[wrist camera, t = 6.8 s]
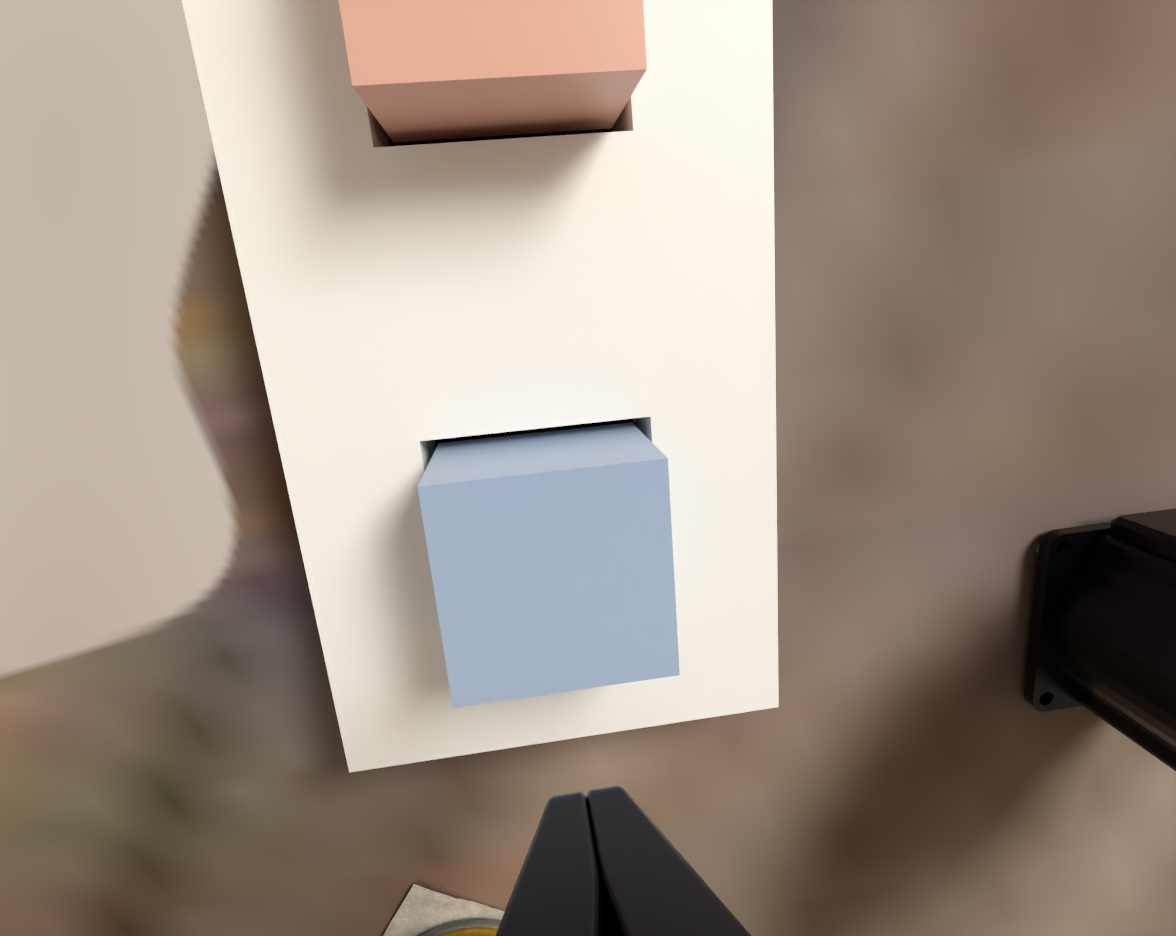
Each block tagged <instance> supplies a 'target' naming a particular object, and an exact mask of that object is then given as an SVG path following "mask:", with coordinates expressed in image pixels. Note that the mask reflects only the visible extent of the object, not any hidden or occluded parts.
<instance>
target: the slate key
mask: <svg viewBox="0 0 1176 936" xmlns="http://www.w3.org/2000/svg"><path fill="white" fill-rule="evenodd" d="M417 488H418V494H419V500H420V507H421V513H422V519H423V525H424V531H425V538H426V544H427V550H428V556H429V562H430V568H431V575H432V581H433V587H434V593H435V599H436V606H437V612H438V618H439V624H440V630H441V636H442V643H443V649H444V655H445V661H446V667H447V674H448V680H449V686H450V692H451V698H452V704H453V708H457V707H464V706H471V705H478V704H485V703H492V702H498V701H505V700H512V699H519V698H526V697H533V696H540V695H547V694H553V693H560V692H567V691H574V690H581V689H588V688H595V687H601V686H608V685H615V684H622V683H629V682H636V681H643V680H650V679H656V678H663V677H670V676H677V675H680V672H679V653H678V635H677V617H676V598H675V580H674V561H673V543H672V525H671V506H670V488H669V470H668V458H667V457H666V456H665V455H664V454H663V453H662V452H661V451H660V450H659V449H658V448H657V447H656V446H655V445H654V444H653V443H652V442H651V441H650V440H649V439H648V438H647V437H646V436H645V435H644V434H643V433H642V432H641V431H640V430H639V429H638V428H637V427H636V426H635V425H634V424H633V423H632V422H629V423H620V424H610V425H601V426H592V427H583V428H573V429H564V430H555V431H546V432H536V433H527V434H518V435H508V436H499V437H490V438H481V439H471V440H462V441H453V442H443V443H439V444H438V446H437V448H436V450H435V452H434V454H433V456H432V458H431V460H430V462H429V464H428V466H427V468H426V470H425V472H424V474H423V476H422V478H421V480H420V482H419V484H418V486H417Z"/></svg>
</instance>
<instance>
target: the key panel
mask: <svg viewBox="0 0 1176 936" xmlns="http://www.w3.org/2000/svg"><path fill="white" fill-rule="evenodd" d="M182 5H183V10H184V14H185V19H186V23H187V28H188V33H189V37H190V42H191V46H192V51H193V56H194V60H195V65H196V69H197V74H198V79H199V83H200V88H201V92H202V97H203V102H204V106H205V111H206V115H207V120H208V125H209V129H210V134H211V138H212V143H213V148H214V152H215V157H216V162H217V166H218V171H219V175H220V180H221V185H222V189H223V194H224V198H225V203H226V208H227V212H228V217H229V221H230V226H231V231H232V235H233V240H234V244H235V249H236V254H237V258H238V263H239V267H240V272H241V277H242V281H243V286H244V290H245V295H246V300H247V304H248V309H249V313H250V318H251V323H252V327H253V332H254V336H255V341H256V346H257V350H258V355H259V359H260V364H261V369H262V373H263V378H264V382H265V387H266V392H267V396H268V401H269V406H270V410H271V415H272V419H273V424H274V429H275V433H276V438H277V442H278V447H279V452H280V456H281V461H282V465H283V470H284V475H285V479H286V484H287V488H288V493H289V498H290V502H291V507H292V511H293V516H294V521H295V525H296V530H297V534H298V539H299V544H300V548H301V553H302V557H303V562H304V567H305V571H306V576H307V580H308V585H309V590H310V594H311V599H312V603H313V608H314V613H315V617H316V622H317V627H318V631H319V636H320V640H321V645H322V650H323V654H324V659H325V663H326V668H327V673H328V677H329V682H330V686H331V691H332V696H333V700H334V705H335V709H336V714H337V719H338V723H339V728H340V732H341V737H342V742H343V746H344V751H345V755H346V760H347V765H348V769H349V773H350V772H356V771H363V770H369V769H376V768H382V767H389V766H395V765H402V764H409V763H415V762H422V761H428V760H435V759H441V758H448V757H454V756H461V755H468V754H474V753H481V752H487V751H494V750H500V749H507V748H513V747H520V746H527V745H533V744H540V743H546V742H553V741H559V740H566V739H572V738H579V737H585V736H592V735H599V734H605V733H612V732H618V731H625V730H631V729H638V728H644V727H651V726H658V725H664V724H671V723H677V722H684V721H690V720H697V719H703V718H710V717H717V716H723V715H730V714H736V713H743V712H749V711H756V710H762V709H769V708H776V707H779V703H778V590H777V476H776V362H775V249H774V135H773V22H772V0H643V8H644V26H645V45H646V63H647V70H646V71H645V73H644V75H643V77H642V78H641V80H640V82H639V83H638V85H637V87H636V88H635V90H634V92H633V93H632V95H631V97H630V98H629V100H628V102H627V103H626V105H625V107H624V108H623V110H622V112H621V113H620V115H619V117H618V118H617V120H616V122H615V124H614V125H613V131H614V132H604V133H588V134H573V135H558V136H542V137H527V138H512V139H496V140H481V141H466V142H450V143H435V144H420V145H404V146H390V143H389V137H388V134H387V133H386V131H385V130H384V129H383V127H382V126H381V124H380V123H379V122H378V120H377V119H376V118H375V116H374V115H373V113H372V112H371V111H370V109H369V108H368V107H367V105H366V104H365V103H364V101H363V100H362V98H361V97H360V96H359V94H358V93H357V92H356V90H355V89H354V87H353V86H352V81H351V75H350V68H349V62H348V56H347V50H346V44H345V38H344V31H343V25H342V19H341V13H340V7H339V0H182ZM624 419H633V424H634V425H635V426H636V427H637V428H638V429H639V430H640V431H641V432H642V433H643V434H644V435H645V436H646V437H647V438H648V439H649V440H650V441H651V442H652V443H653V444H654V445H655V446H656V447H657V448H658V449H659V450H660V451H661V452H662V453H663V454H664V455H665V456H666V457H667V458H668V470H669V488H670V506H671V525H672V543H673V561H674V580H675V598H676V617H677V635H678V653H679V672H680V675H677V676H670V677H663V678H656V679H650V680H643V681H636V682H629V683H622V684H615V685H608V686H601V687H595V688H588V689H581V690H574V691H567V692H560V693H553V694H547V695H540V696H533V697H526V698H519V699H512V700H505V701H498V702H492V703H485V704H478V705H471V706H464V707H457V708H453V704H452V698H451V692H450V686H449V680H448V674H447V667H446V661H445V655H444V649H443V643H442V636H441V630H440V624H439V618H438V612H437V606H436V599H435V593H434V587H433V581H432V575H431V568H430V562H429V556H428V550H427V544H426V538H425V531H424V525H423V519H422V513H421V507H420V500H419V494H418V488H417V486H418V484H419V482H420V480H421V478H422V476H423V474H424V472H425V470H426V468H427V466H428V464H429V462H430V460H431V458H432V456H433V454H434V452H435V450H436V447H435V440H437V439H447V438H456V437H465V436H475V435H484V434H493V433H503V432H512V431H521V430H531V429H540V428H549V427H559V426H568V425H577V424H587V423H596V422H605V421H615V420H624Z"/></svg>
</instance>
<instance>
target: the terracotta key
mask: <svg viewBox="0 0 1176 936" xmlns="http://www.w3.org/2000/svg"><path fill="white" fill-rule="evenodd" d="M339 7H340V13H341V19H342V25H343V31H344V38H345V44H346V50H347V56H348V62H349V68H350V75H351V81H352V86H353V87H354V89H355V90H356V92H357V93H358V94H359V96H360V97H361V98H362V100H363V101H364V103H365V104H366V105H367V107H368V108H369V109H370V111H371V112H372V113H373V115H374V116H375V118H376V119H377V120H378V122H379V123H380V124H381V126H382V127H383V129H384V130H385V131H386V133H387V134H388V135H389V137H390V138H391V140H392V141H393V142H394V143H395V142H410V141H425V140H441V139H456V138H472V137H487V136H503V135H518V134H534V133H549V132H565V131H580V130H595V129H611V128H612V127H613V125H614V124H615V122H616V120H617V118H618V117H619V115H620V113H621V112H622V110H623V108H624V107H625V105H626V103H627V102H628V100H629V98H630V97H631V95H632V93H633V92H634V90H635V88H636V87H637V85H638V83H639V82H640V80H641V78H642V77H643V75H644V73H645V71H646V70H647V63H646V45H645V26H644V8H643V0H339Z"/></svg>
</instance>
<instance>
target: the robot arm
mask: <svg viewBox="0 0 1176 936" xmlns="http://www.w3.org/2000/svg"><path fill="white" fill-rule="evenodd" d="M1060 543H1061V545H1060V547H1059V548H1058V549H1057V546H1058V545H1059V544H1060ZM1056 549H1057V550H1056ZM1024 699H1025V700H1026V702H1027V703H1028V704H1030V705H1031V706H1032V707H1033V708H1035V709H1036V710H1038V711H1051V710H1057V709H1063V708H1070V707H1076V706H1082V705H1083V706H1084V707H1085V708H1087V709H1088V710H1090V711H1091V712H1092V713H1094V714H1095V715H1097V716H1098V717H1100V718H1101V719H1102V720H1104V721H1105V722H1107V723H1108V724H1109V725H1111V726H1112V727H1114V728H1115V729H1117V730H1118V731H1119V732H1121V733H1122V734H1124V735H1125V736H1126V737H1128V738H1129V739H1131V740H1132V741H1133V742H1135V743H1136V744H1138V745H1139V746H1141V747H1142V748H1143V749H1145V750H1146V751H1148V752H1149V753H1150V754H1152V755H1153V756H1155V757H1156V758H1158V759H1159V760H1160V761H1162V762H1163V763H1165V764H1166V765H1167V766H1169V767H1170V768H1172V769H1173V770H1175V771H1176V509H1169V510H1161V511H1153V512H1146V513H1138V514H1130V515H1123V516H1119V517H1117V518H1115V519H1113V520H1111V522H1110V523H1102V524H1094V525H1087V526H1079V527H1072V528H1064V529H1056V530H1053V531H1050V532H1048V533H1047V534H1046V535H1044V537H1043V538H1042V540H1041V542H1040V546H1039V554H1038V564H1037V573H1036V582H1035V592H1034V601H1033V611H1032V620H1031V630H1030V639H1029V649H1028V658H1027V668H1026V677H1025V687H1024ZM495 936H751V935H750V934H749V933H748V932H747V931H746V930H745V928H744V927H743V926H742V925H741V924H740V923H739V921H738V920H737V919H736V918H735V917H734V916H733V914H732V913H731V912H730V911H729V910H728V909H727V907H726V906H725V905H724V904H723V903H722V902H721V900H720V899H719V898H718V897H717V896H716V895H715V894H714V892H713V891H712V890H711V889H710V888H709V887H708V885H707V884H706V883H705V882H704V881H703V880H702V878H701V877H700V876H699V875H698V874H697V873H696V871H695V870H694V869H693V868H692V867H691V866H690V864H689V863H688V862H687V861H686V860H685V859H684V858H683V856H682V855H681V854H680V853H679V852H678V851H677V849H676V848H675V847H674V846H673V845H672V844H671V842H670V841H669V840H668V839H667V838H666V837H665V835H664V834H663V833H662V832H661V831H660V830H659V828H658V827H657V826H656V825H655V824H654V823H653V822H652V820H651V819H650V818H649V817H648V816H647V815H646V813H645V812H644V811H643V810H642V809H641V808H640V806H639V805H638V804H637V803H636V802H635V801H634V799H633V798H632V797H631V796H630V795H629V794H628V793H627V791H626V790H625V789H624V788H622V787H620V786H613V787H607V788H600V789H594V790H591V791H589V792H588V794H587V799H586V796H585V795H584V793H582V792H576V793H570V794H564V795H558V796H553V797H551V798H550V799H549V801H548V802H547V805H546V807H545V810H544V812H543V815H542V817H541V820H540V822H539V825H538V828H537V830H536V833H535V835H534V838H533V840H532V843H531V846H530V848H529V851H528V853H527V856H526V858H525V861H524V864H523V866H522V869H521V871H520V874H519V876H518V879H517V881H516V884H515V887H514V889H513V892H512V894H511V897H510V899H509V902H508V905H507V907H506V910H505V912H504V915H503V917H502V920H501V922H500V925H499V928H498V930H497V933H496V935H495Z"/></svg>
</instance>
